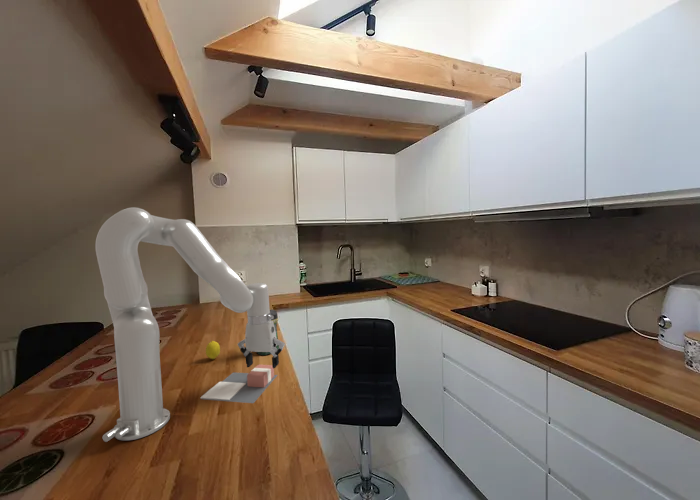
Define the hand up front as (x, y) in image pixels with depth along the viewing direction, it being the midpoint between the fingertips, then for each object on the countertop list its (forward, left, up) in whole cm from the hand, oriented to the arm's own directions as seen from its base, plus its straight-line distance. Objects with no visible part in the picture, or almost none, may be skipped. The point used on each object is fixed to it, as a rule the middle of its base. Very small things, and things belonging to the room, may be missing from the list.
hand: (262, 366), depth 102 cm
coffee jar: (+25, +10, -6) cm, 28 cm away
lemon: (+15, +30, -6) cm, 35 cm away
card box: (-1, 0, -5) cm, 5 cm away
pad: (-8, +10, -6) cm, 14 cm away
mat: (-5, +5, -6) cm, 9 cm away
